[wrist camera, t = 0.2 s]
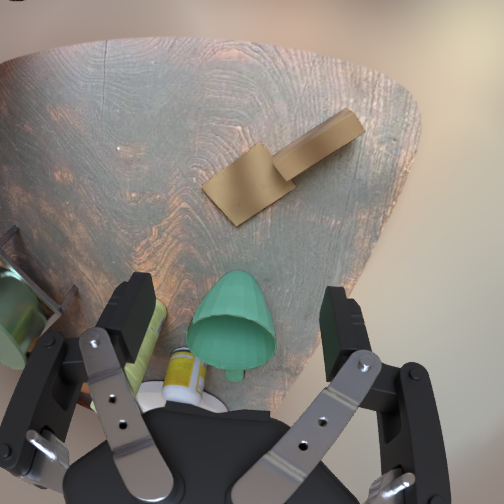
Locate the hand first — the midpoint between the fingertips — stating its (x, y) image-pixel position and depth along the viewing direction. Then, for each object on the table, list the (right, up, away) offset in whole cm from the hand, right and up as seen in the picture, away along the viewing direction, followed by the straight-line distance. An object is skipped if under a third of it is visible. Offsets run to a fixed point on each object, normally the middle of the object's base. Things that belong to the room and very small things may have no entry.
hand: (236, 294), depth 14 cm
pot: (-37, -2, +29) cm, 47 cm away
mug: (-1, -4, +28) cm, 28 cm away
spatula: (+4, +11, +16) cm, 20 cm away
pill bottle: (-10, -16, +36) cm, 41 cm away
